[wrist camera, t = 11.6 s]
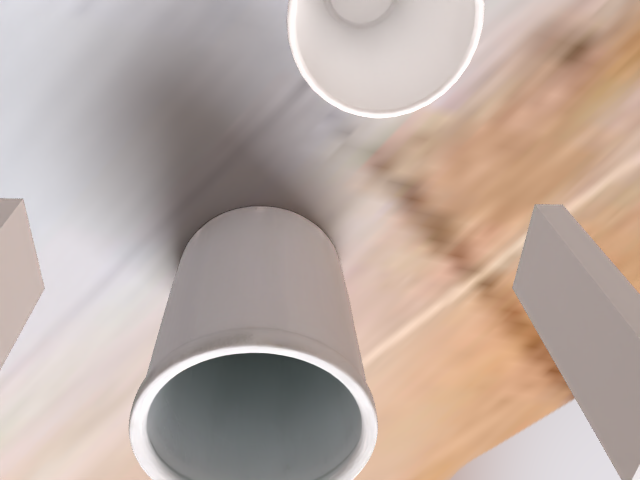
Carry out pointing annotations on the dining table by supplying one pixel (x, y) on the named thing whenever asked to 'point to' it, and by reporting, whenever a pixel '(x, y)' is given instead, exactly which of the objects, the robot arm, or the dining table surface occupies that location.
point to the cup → (383, 50)
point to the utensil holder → (256, 360)
